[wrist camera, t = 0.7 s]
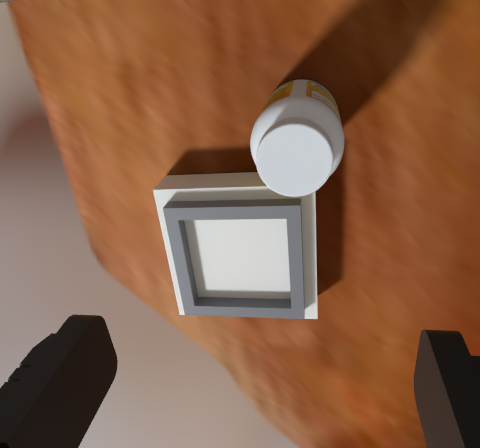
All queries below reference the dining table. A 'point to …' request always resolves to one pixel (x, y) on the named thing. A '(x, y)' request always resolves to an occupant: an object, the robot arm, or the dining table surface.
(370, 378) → the dining table surface
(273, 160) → the supplement bottle
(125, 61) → the dining table surface
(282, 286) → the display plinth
